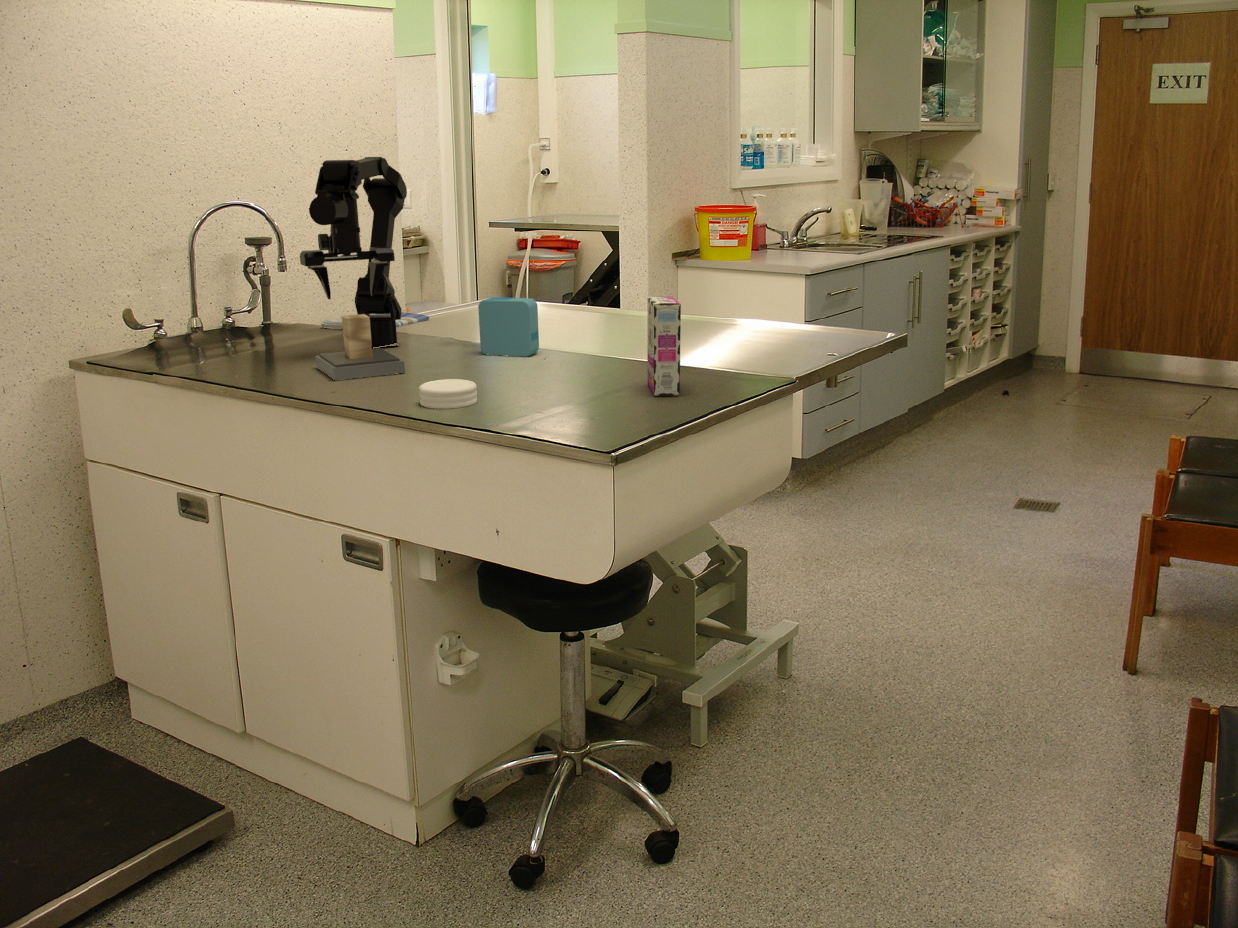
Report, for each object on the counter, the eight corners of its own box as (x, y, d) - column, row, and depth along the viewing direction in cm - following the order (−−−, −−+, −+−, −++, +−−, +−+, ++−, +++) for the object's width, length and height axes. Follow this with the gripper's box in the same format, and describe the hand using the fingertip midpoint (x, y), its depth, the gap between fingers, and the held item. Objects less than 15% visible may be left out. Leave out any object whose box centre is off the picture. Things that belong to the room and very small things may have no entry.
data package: (539, 353, 235) (537, 298, 231) (531, 357, 231) (529, 301, 227) (489, 351, 239) (486, 297, 235) (480, 355, 234) (477, 299, 231)
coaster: (435, 396, 195) (434, 377, 194) (486, 399, 193) (485, 379, 192) (409, 408, 186) (408, 388, 185) (462, 411, 183) (461, 391, 182)
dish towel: (318, 330, 276) (317, 319, 275) (382, 318, 295) (381, 308, 295) (368, 335, 267) (367, 324, 267) (431, 322, 287) (430, 311, 286)
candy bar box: (682, 396, 191) (681, 303, 186) (653, 397, 191) (652, 304, 186) (673, 383, 202) (673, 295, 197) (646, 384, 201) (645, 296, 197)
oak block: (367, 353, 221) (363, 314, 219) (372, 356, 218) (369, 317, 215) (345, 355, 220) (341, 316, 217) (350, 358, 216) (346, 318, 213)
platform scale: (383, 361, 229) (382, 347, 228) (405, 373, 216) (403, 358, 215) (316, 368, 223) (315, 353, 222) (334, 381, 209) (333, 365, 209)
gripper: (378, 219, 237) (383, 290, 241) (291, 222, 228) (298, 297, 233) (392, 221, 227) (398, 295, 231) (302, 225, 219) (309, 302, 223)
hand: (351, 297), depth 230 cm, fingers open, 9 cm apart
